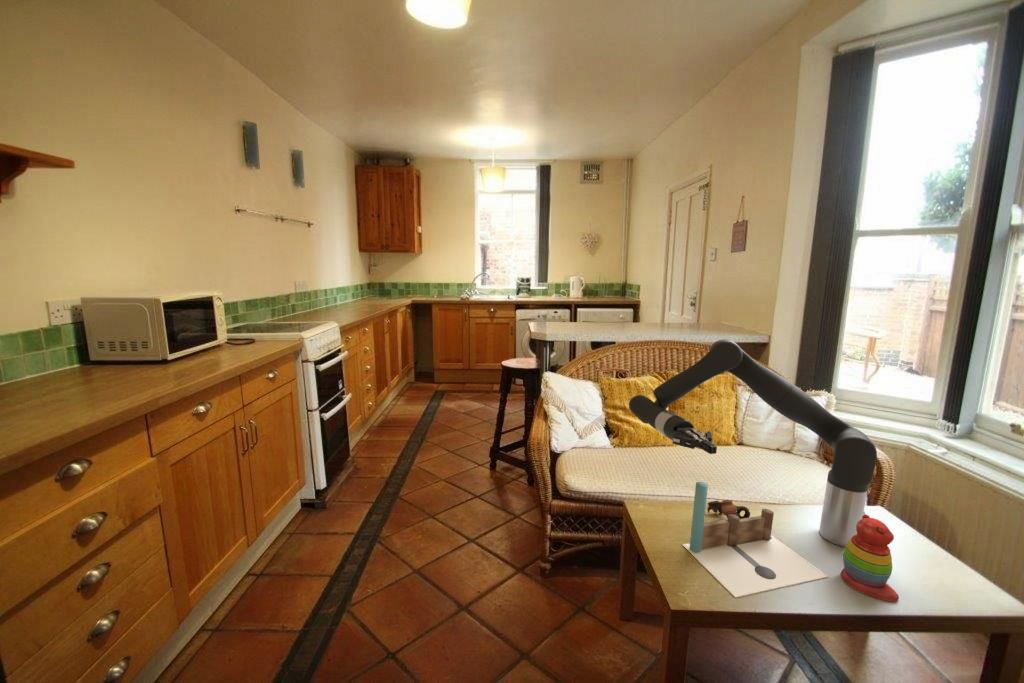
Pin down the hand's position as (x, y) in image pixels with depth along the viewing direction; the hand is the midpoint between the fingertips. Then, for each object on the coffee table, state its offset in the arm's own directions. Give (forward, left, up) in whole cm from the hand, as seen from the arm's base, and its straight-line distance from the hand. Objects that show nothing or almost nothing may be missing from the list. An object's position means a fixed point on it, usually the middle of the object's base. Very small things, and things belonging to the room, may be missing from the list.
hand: (714, 450), depth 110 cm
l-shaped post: (-3, -2, -30) cm, 30 cm away
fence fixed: (-17, -2, -31) cm, 35 cm away
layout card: (-11, +5, -31) cm, 33 cm away
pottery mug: (-18, -11, -31) cm, 38 cm away
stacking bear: (-33, +19, -31) cm, 49 cm away
